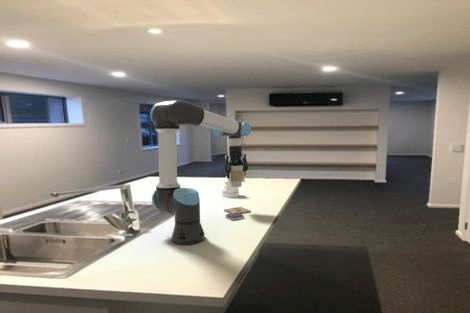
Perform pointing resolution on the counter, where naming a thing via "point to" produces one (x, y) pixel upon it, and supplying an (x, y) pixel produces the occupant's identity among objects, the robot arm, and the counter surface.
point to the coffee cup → (236, 173)
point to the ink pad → (234, 216)
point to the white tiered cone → (229, 190)
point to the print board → (237, 210)
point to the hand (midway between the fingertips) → (236, 182)
